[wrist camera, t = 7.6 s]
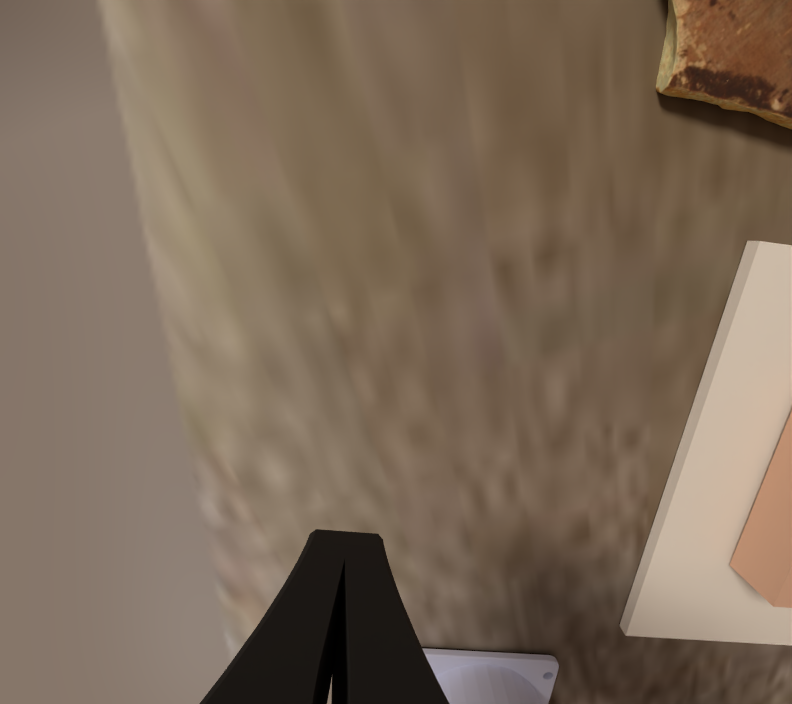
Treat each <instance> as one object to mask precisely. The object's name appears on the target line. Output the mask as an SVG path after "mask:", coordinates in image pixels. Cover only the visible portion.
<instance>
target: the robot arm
mask: <svg viewBox="0 0 792 704" xmlns="http://www.w3.org/2000/svg"><path fill="white" fill-rule="evenodd" d="M558 669H559V665H558V662H557V660H556V658H555V657H554V656H551V655H539V654H520V653H501V652H483V651H464V650H446V649H427V648H422V647H421V645H420V643H419V640H418V638H417V636H416V634H415V631H414V629H413V626H412V624H411V622H410V619H409V617H408V615H407V612H406V610H405V608H404V605H403V603H402V600H401V597H400V595H399V592H398V589H397V587H396V584H395V581H394V578H393V575H392V572H391V569H390V566H389V563H388V559H387V556H386V552H385V548H384V544H383V539H382V538H381V537H380V536H379V534H372V533H359V532H345V531H332V530H318V529H316V530H315V531H313V532H312V533H311V534H310V535H309V538H308V540H307V543H306V545H305V547H304V549H303V551H302V553H301V555H300V557H299V559H298V561H297V563H296V565H295V566H294V568H293V570H292V572H291V573H290V575H289V577H288V579H287V580H286V582H285V584H284V585H283V587H282V589H281V590H280V592H279V593H278V595H277V596H276V598H275V599H274V601H273V603H272V604H271V606H270V607H269V609H268V610H267V612H266V614H265V615H264V617H263V618H262V620H261V621H260V623H259V624H258V626H257V627H256V629H255V630H254V631H253V633H252V634H251V635H250V637H249V638H248V640H247V641H246V642H245V644H244V645H243V647H242V648H241V649H240V651H239V652H238V654H237V655H236V656H235V658H234V659H233V660H232V662H231V663H230V665H229V666H228V667H227V669H226V670H225V671H224V673H223V674H222V675H221V677H220V678H219V679H218V681H217V682H216V683H215V685H214V686H213V687H212V688H211V690H210V691H209V692H208V694H207V695H206V696H205V697H204V699H203V700H202V701H201V702H200V704H327V700H328V694H329V689H330V683H331V678H332V704H548V703H549V700H550V697H551V693H552V690H553V686H554V683H555V680H556V676H557V673H558Z"/></svg>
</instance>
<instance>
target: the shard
mask: <svg viewBox="0 0 792 704" xmlns="http://www.w3.org/2000/svg"><path fill="white" fill-rule="evenodd" d="M666 29H667V32H666V38H665V42H664V48H663V52H662V59H661V62H660V68H659V74H658V77H657V83H656V91H657V92H659V93H662V94H664V95H667V96H672V97H681V98H686V99H694V100H699V101H705V102H708V103H711V104H716V105H719V106H720V107H721V108H722V109H727V110H736V111H744V112H750V113H753V114H756V115H757V116H759V117H761V118H763V119H765V120H767V121H770V122H773V123H776V124H778V125H780V126H783V127H786V128H789V129H792V0H668V18H667V26H666Z"/></svg>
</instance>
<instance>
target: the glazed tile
mask: <svg viewBox="0 0 792 704" xmlns="http://www.w3.org/2000/svg"><path fill="white" fill-rule="evenodd" d="M730 566H731V567H732V568H733V569H734V570H735V571H736V572H737V573H738V574H739V575H740V576H741V577H743V578H744V579H745V580H746V581H747V582H748V583H749V584H750V585H751V586H752V587H753V588H754V589H755V590H756V591H757V592H758V593H759V594H760V595H761V596H763V597H764V598H765V599H766V600H767V601H768V602H769V603H770V604H771V605H772V606H773V607H786V608H792V411H791V414H790V416H789V419H788V421H787V423H786V426H785V428H784V431H783V433H782V436H781V438H780V441H779V443H778V446H777V448H776V451H775V453H774V456H773V458H772V461H771V463H770V466H769V468H768V471H767V473H766V476H765V478H764V481H763V483H762V486H761V488H760V491H759V493H758V496H757V498H756V501H755V503H754V506H753V508H752V511H751V513H750V516H749V518H748V521H747V523H746V526H745V528H744V530H743V533H742V535H741V538H740V540H739V543H738V545H737V548H736V550H735V553H734V555H733V558H732V560H731V563H730Z"/></svg>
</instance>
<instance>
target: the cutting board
mask: <svg viewBox="0 0 792 704" xmlns="http://www.w3.org/2000/svg"><path fill="white" fill-rule="evenodd" d="M791 411H792V245H785V244H777V243H770V242H762V241H747V244H746V247H745V250H744V253H743V256H742V259H741V262H740V265H739V268H738V271H737V274H736V277H735V280H734V283H733V286H732V289H731V292H730V295H729V298H728V301H727V304H726V307H725V310H724V313H723V316H722V319H721V322H720V325H719V328H718V331H717V334H716V337H715V340H714V343H713V346H712V349H711V352H710V355H709V358H708V361H707V364H706V367H705V370H704V373H703V376H702V379H701V382H700V385H699V388H698V391H697V394H696V397H695V400H694V403H693V406H692V409H691V412H690V415H689V418H688V421H687V424H686V427H685V430H684V433H683V436H682V439H681V442H680V445H679V448H678V451H677V454H676V457H675V460H674V463H673V466H672V469H671V472H670V475H669V478H668V481H667V484H666V487H665V490H664V493H663V496H662V499H661V502H660V505H659V508H658V511H657V514H656V517H655V520H654V523H653V526H652V529H651V532H650V535H649V538H648V541H647V544H646V547H645V550H644V553H643V556H642V559H641V562H640V565H639V568H638V571H637V574H636V577H635V580H634V583H633V586H632V589H631V592H630V595H629V598H628V601H627V604H626V607H625V610H624V613H623V616H622V619H621V622H620V625H619V626H620V627H621V629H622V631H623V632H624V634H625V636H639V637H657V638H674V639H691V640H708V641H725V642H743V643H760V644H777V645H792V608H786V607H773V606H772V605H771V604H770V603H769V602H768V601H767V600H766V599H765V598H764V597H763V596H761V595H760V594H759V593H758V592H757V591H756V590H755V589H754V588H753V587H752V586H751V585H750V584H749V583H748V582H747V581H746V580H745V579H744V578H743V577H741V576H740V575H739V574H738V573H737V572H736V571H735V570H734V569H733V568H732V567H731V566H730V563H731V560H732V558H733V555H734V553H735V550H736V548H737V545H738V543H739V540H740V538H741V535H742V533H743V530H744V528H745V526H746V523H747V521H748V518H749V516H750V513H751V511H752V508H753V506H754V503H755V501H756V498H757V496H758V493H759V491H760V488H761V486H762V483H763V481H764V478H765V476H766V473H767V471H768V468H769V466H770V463H771V461H772V458H773V456H774V453H775V451H776V448H777V446H778V443H779V441H780V438H781V436H782V433H783V431H784V428H785V426H786V423H787V421H788V419H789V416H790V414H791Z"/></svg>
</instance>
